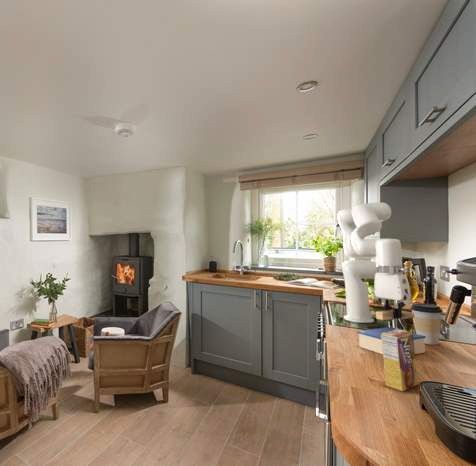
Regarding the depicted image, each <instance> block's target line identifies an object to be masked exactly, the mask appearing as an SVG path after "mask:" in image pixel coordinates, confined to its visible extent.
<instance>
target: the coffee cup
mask: <svg viewBox="0 0 476 466" xmlns="http://www.w3.org/2000/svg"><path fill="white" fill-rule="evenodd" d="M411 304H412V305H411V306H410V307H409V309H410V310H411V312H412V313H414V318H412V320H413V326H414V330H415V332H416V333H415V334H418V335H423V336H426V338H424V344H425V345H432V346H436V345H439V344H440V333H441V326H442V325H441V324H442V323H441V322H442V318H441V316H442V315H441V314H442V313H444V311H443V309H442V308H441V307H440V305H438V304H437V305H436V304H431V303H411Z"/></svg>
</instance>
